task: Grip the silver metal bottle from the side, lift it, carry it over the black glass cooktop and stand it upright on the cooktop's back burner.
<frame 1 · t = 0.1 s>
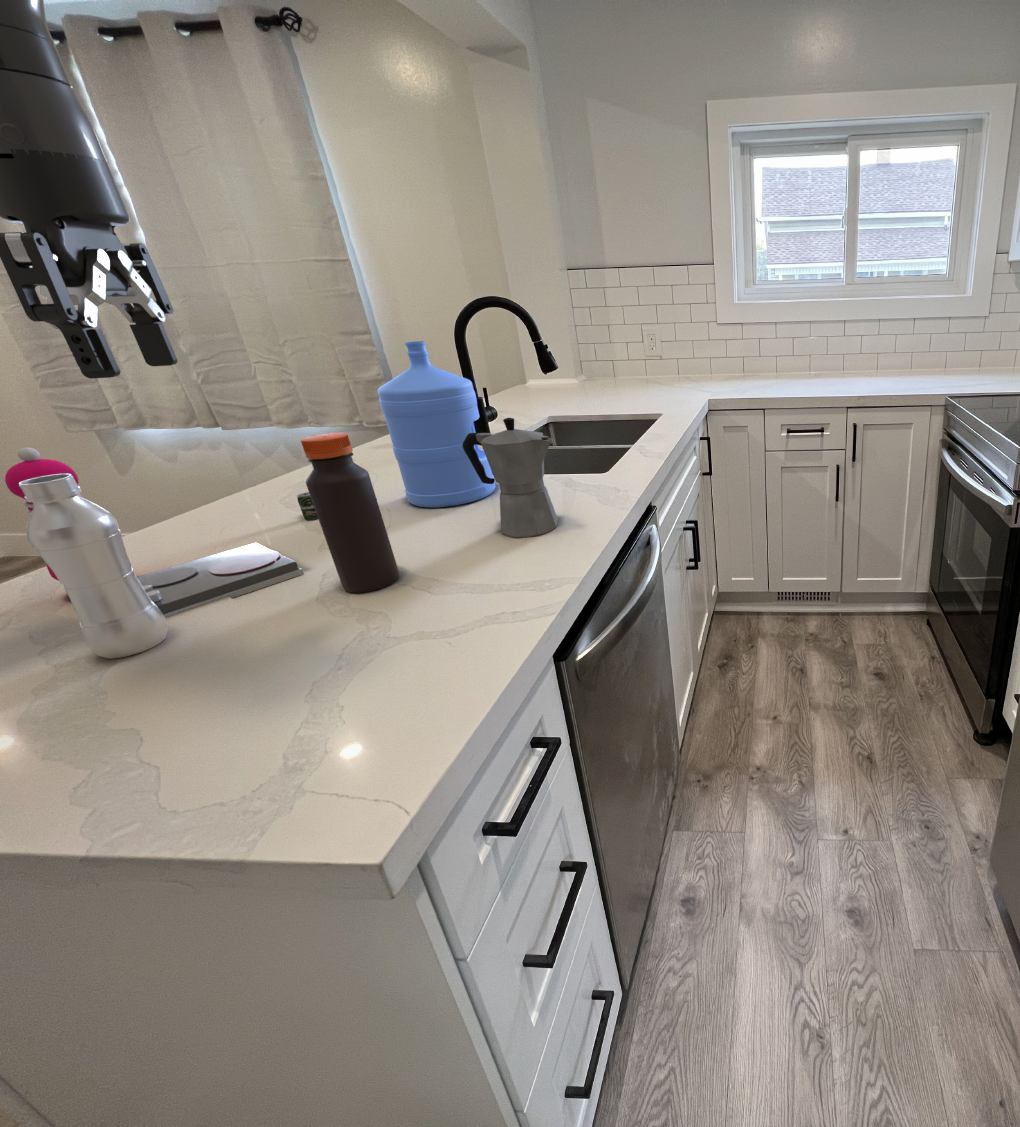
hand: (135, 371, 54), 30 cm above the counter, tool pointing down, fingers open, 8 cm apart
vinegar: (372, 583, 82), on the counter
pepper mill: (104, 593, 82), on the counter
coffeepot: (524, 528, 100), on the counter
water jug: (453, 496, 117), on the counter
hob: (214, 584, 83), on the counter
silver metal bottle: (138, 650, 68), on the counter
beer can: (314, 518, 108), on the counter
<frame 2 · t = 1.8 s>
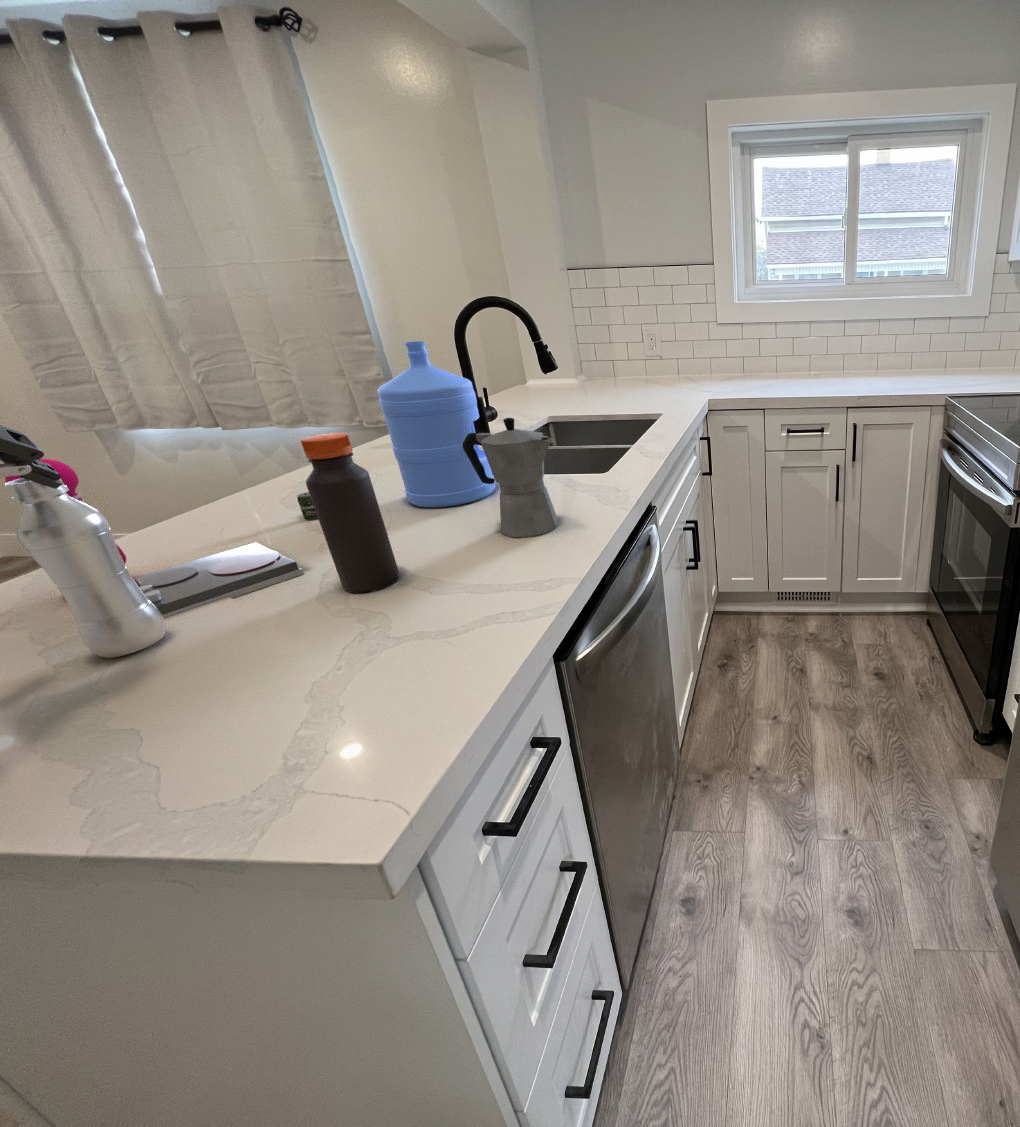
hand: (11, 508, 59), 18 cm above the counter, tool tilted 55°, fingers open, 8 cm apart
silver metal bottle: (137, 649, 68), on the counter, touching gripper
everything else where it was.
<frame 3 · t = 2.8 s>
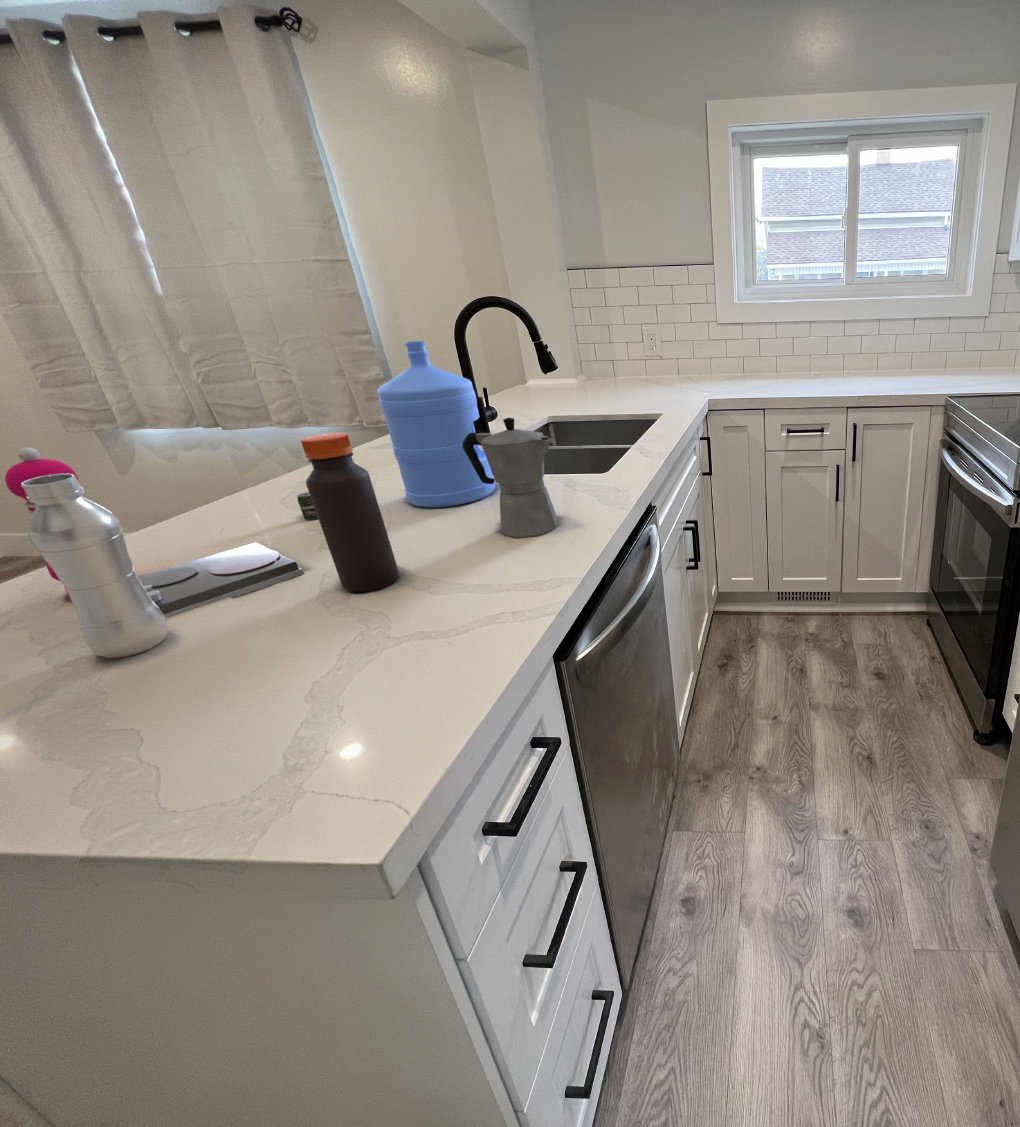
silver metal bottle: (137, 649, 68), on the counter
everything else where it was.
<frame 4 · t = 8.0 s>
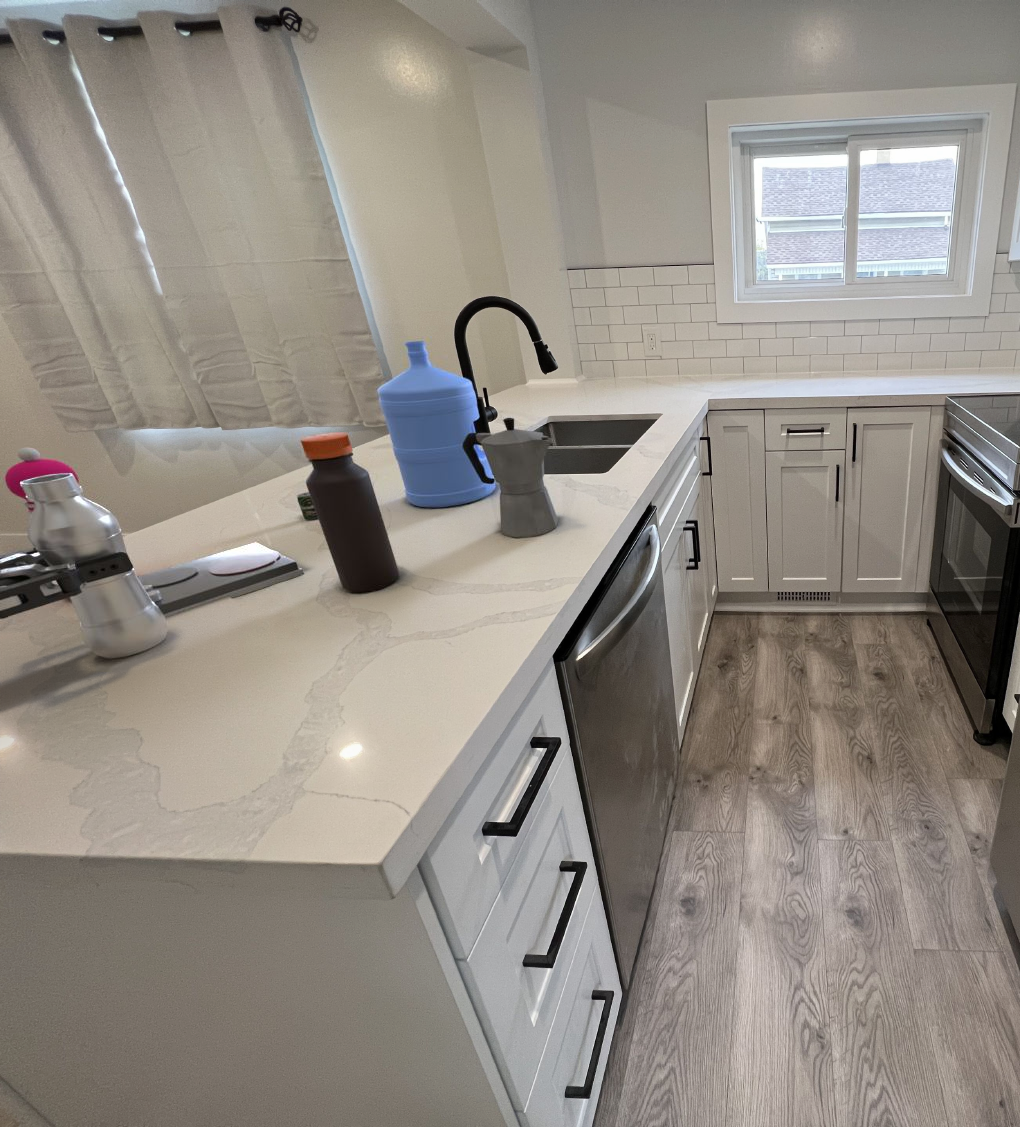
hand: (119, 553, 65), 11 cm above the counter, tool horizontal, fingers closed on silver metal bottle, 6 cm apart
silver metal bottle: (138, 650, 68), on the counter, touching gripper
everything else where it was.
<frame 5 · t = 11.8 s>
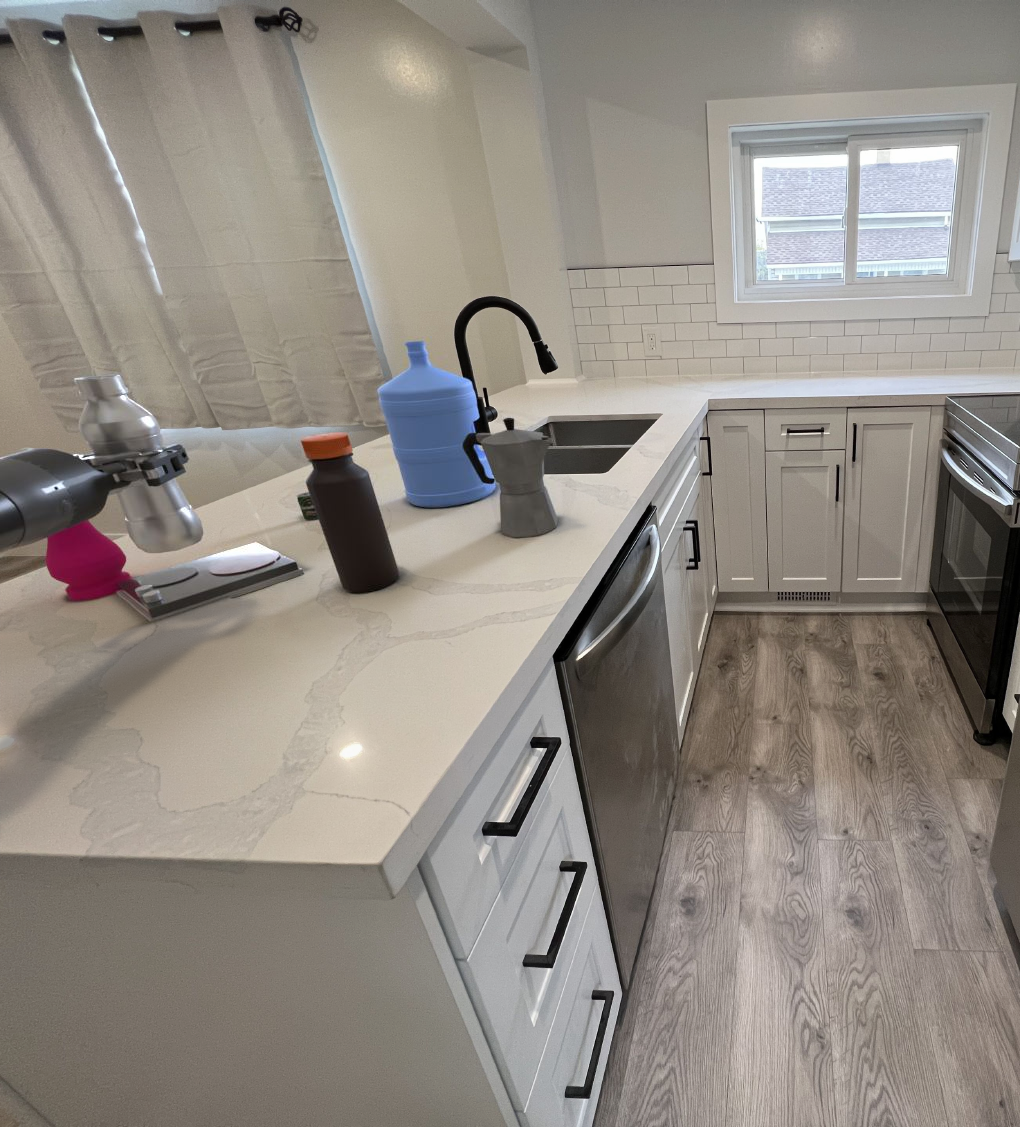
hand: (149, 455, 70), 19 cm above the counter, tool horizontal, fingers closed on silver metal bottle, 6 cm apart
silver metal bottle: (176, 550, 73), point 8 cm above the counter, touching gripper
everything else where it was.
when the fingers open (13 cm above the counter, at t = 16.1 s): silver metal bottle stays where it is, resting on hob.
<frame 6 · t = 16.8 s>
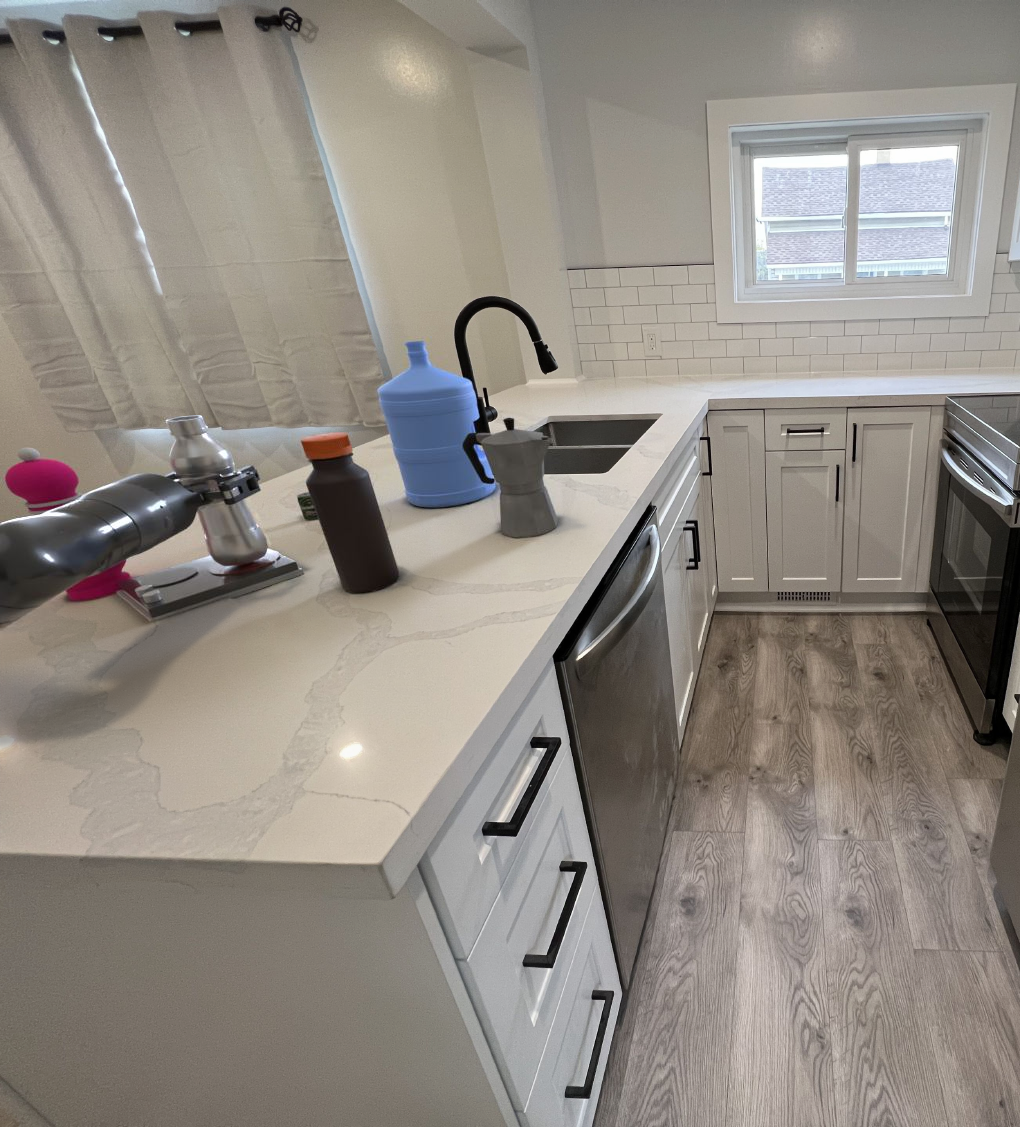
hand: (218, 475, 81), 14 cm above the counter, tool horizontal, fingers open, 8 cm apart
silver metal bottle: (245, 563, 85), point 2 cm above the counter, touching hob
everything else where it was.
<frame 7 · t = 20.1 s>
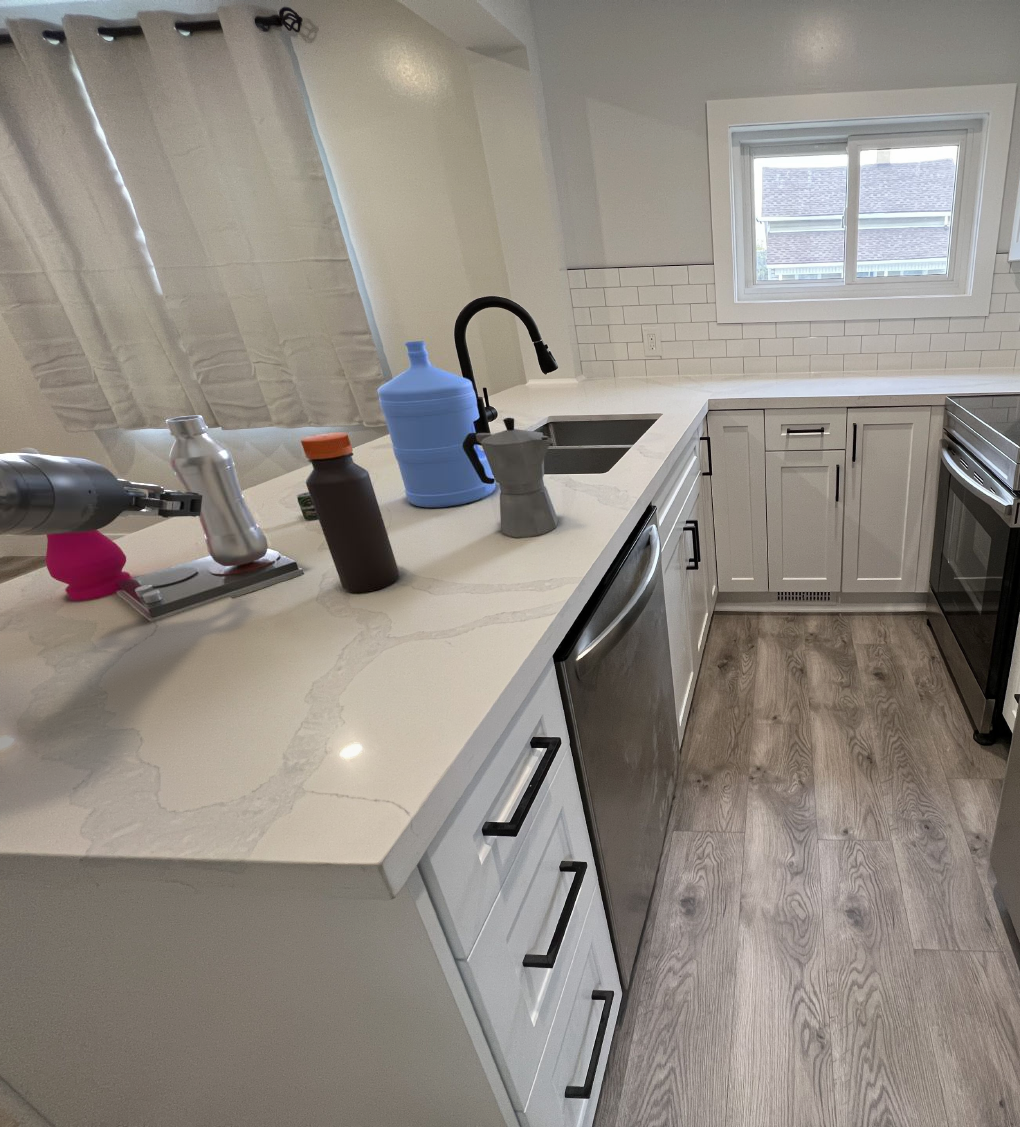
hand: (150, 495, 72), 15 cm above the counter, tool tilted 75°, fingers open, 8 cm apart
nothing on the counter moved.
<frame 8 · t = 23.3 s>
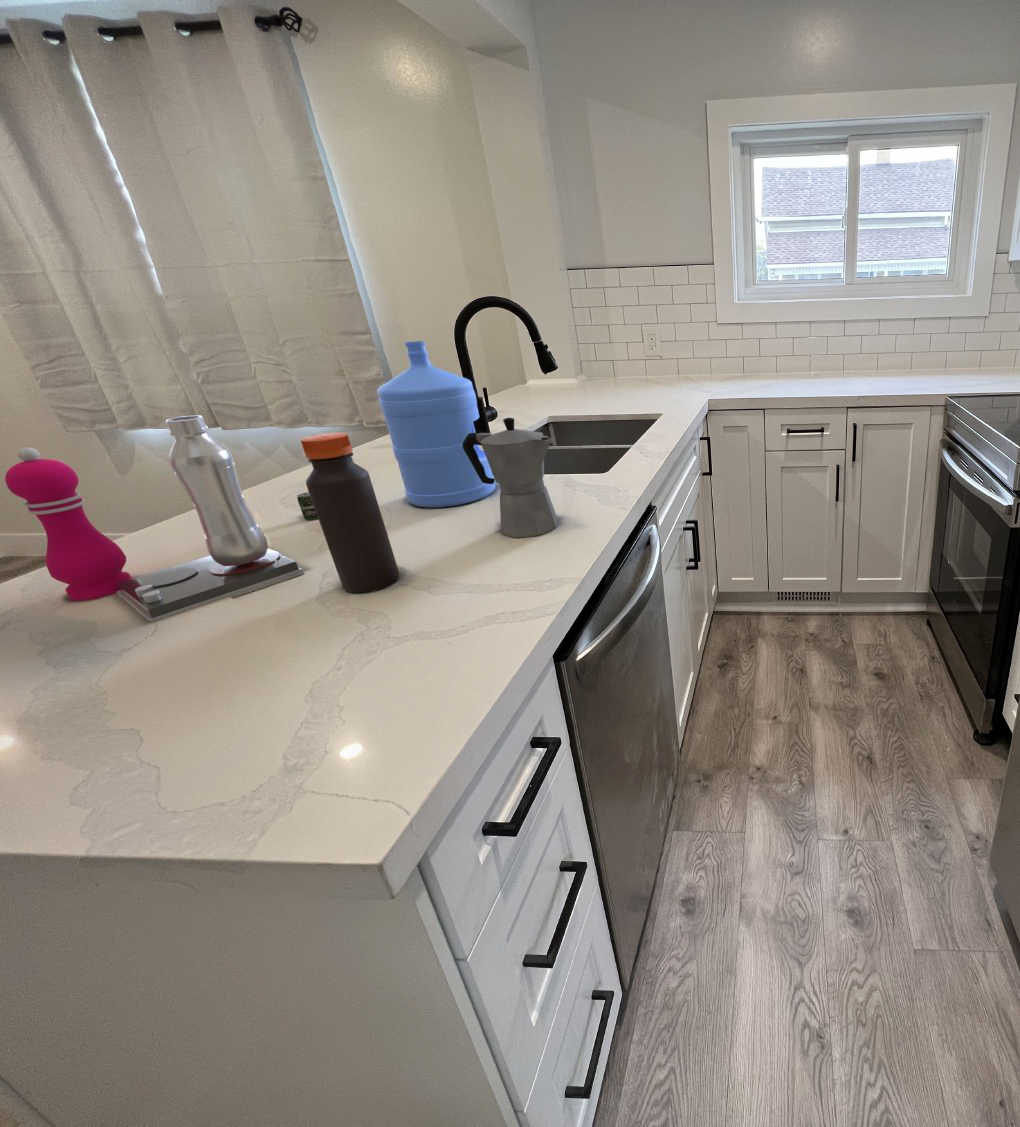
nothing on the counter moved.
at the end: silver metal bottle inside the target area on the hob (0.8 cm from its centre), point 2.0 cm above the hob's base; silver metal bottle tilted 0°; the gripper is holding nothing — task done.
